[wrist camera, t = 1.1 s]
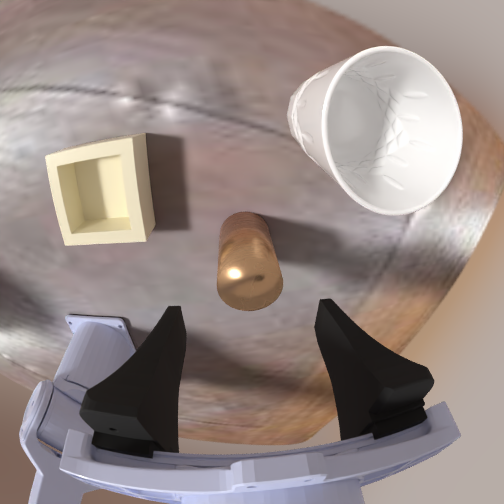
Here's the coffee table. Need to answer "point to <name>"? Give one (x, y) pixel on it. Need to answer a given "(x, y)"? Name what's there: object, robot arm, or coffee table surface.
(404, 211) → the white cup
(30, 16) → the coffee table surface
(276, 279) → the brown cylinder
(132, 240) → the cream square tray
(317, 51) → the coffee table surface
